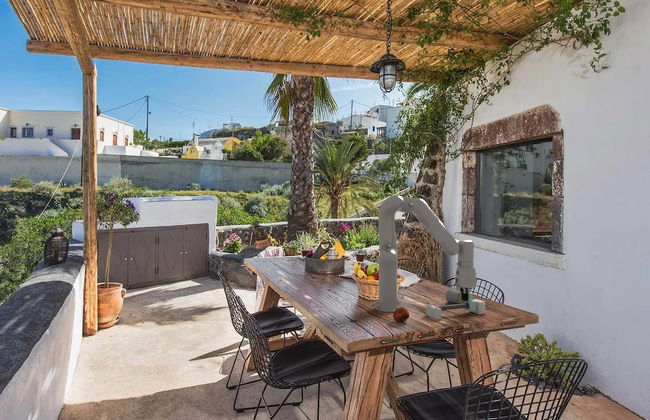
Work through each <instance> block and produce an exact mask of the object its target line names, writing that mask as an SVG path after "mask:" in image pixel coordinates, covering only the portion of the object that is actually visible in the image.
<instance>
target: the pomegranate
mask: <svg viewBox="0 0 650 420" xmlns="http://www.w3.org/2000/svg"><path fill="white" fill-rule="evenodd" d="M399 307H400V306H399ZM396 308H397V307H396ZM392 313H393V314H392V318H393V320H394V321H395V322H396V323H404V325H407V324H406V321H407V320H408V319H409V318H410V312H409V311H408V310H407V309H406V308H405V307H403V306H402V307H400V308H397V309H396V310H395V311H394V312H392Z"/></svg>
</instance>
